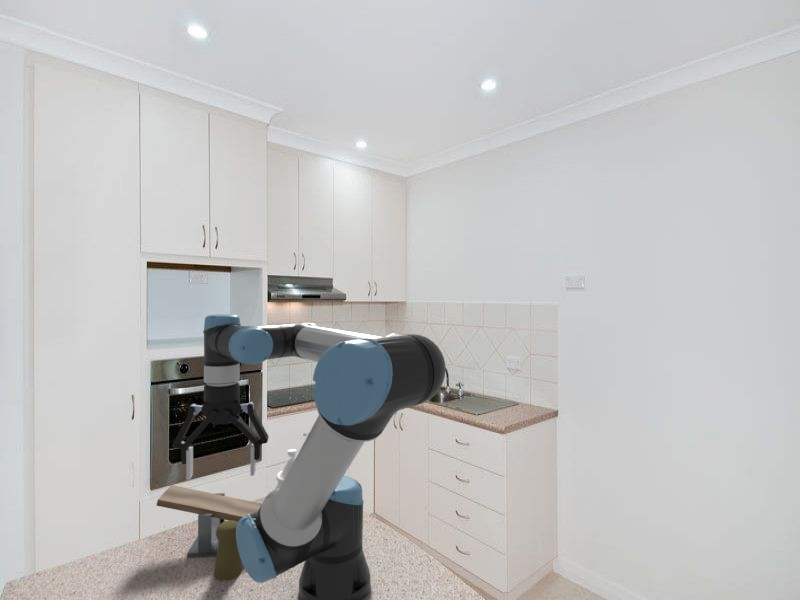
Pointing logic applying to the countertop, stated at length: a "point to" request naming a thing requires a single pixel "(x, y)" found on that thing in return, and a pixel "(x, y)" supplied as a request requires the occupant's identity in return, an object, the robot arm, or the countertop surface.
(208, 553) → the seesaw stand
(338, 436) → the robot arm
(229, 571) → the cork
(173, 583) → the countertop surface
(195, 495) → the seesaw plank
